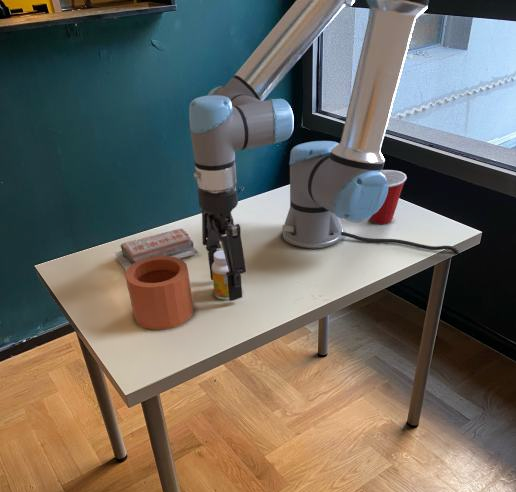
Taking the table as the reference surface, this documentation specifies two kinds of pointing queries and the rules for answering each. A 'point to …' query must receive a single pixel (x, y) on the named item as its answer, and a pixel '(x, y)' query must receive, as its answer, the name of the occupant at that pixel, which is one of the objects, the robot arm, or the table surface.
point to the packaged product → (157, 247)
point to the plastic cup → (390, 197)
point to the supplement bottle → (220, 275)
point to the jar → (160, 292)
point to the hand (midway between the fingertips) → (226, 287)
